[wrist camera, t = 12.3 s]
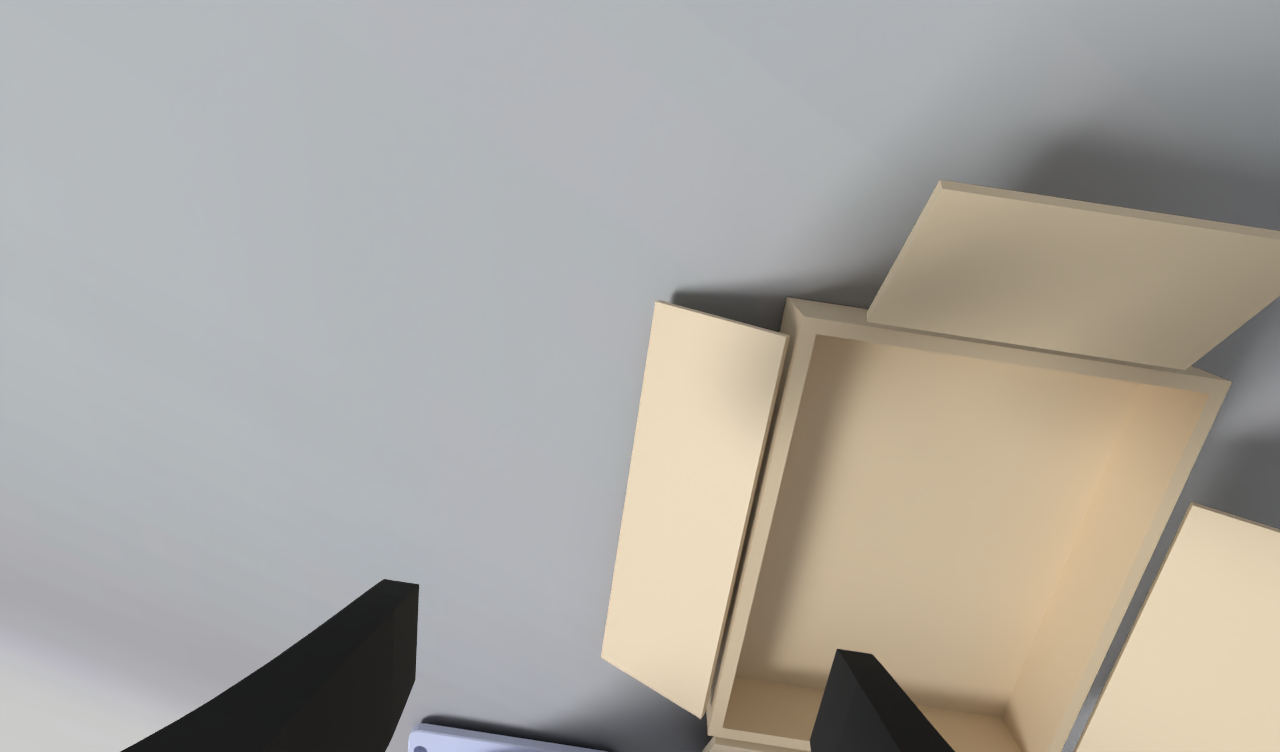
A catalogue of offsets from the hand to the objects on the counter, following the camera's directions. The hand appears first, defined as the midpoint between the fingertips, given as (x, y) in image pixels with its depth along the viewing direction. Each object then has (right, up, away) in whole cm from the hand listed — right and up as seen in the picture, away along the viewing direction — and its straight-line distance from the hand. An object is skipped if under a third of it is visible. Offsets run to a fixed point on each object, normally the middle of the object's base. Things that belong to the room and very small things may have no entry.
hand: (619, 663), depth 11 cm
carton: (+7, -2, +11) cm, 13 cm away
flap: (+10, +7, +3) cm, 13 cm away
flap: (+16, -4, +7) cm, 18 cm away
